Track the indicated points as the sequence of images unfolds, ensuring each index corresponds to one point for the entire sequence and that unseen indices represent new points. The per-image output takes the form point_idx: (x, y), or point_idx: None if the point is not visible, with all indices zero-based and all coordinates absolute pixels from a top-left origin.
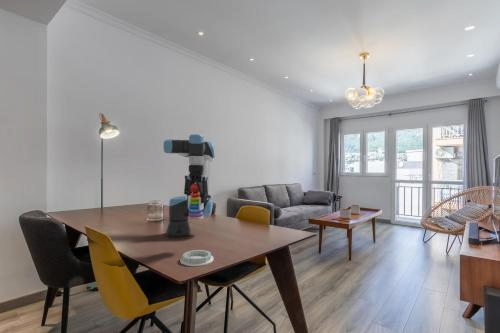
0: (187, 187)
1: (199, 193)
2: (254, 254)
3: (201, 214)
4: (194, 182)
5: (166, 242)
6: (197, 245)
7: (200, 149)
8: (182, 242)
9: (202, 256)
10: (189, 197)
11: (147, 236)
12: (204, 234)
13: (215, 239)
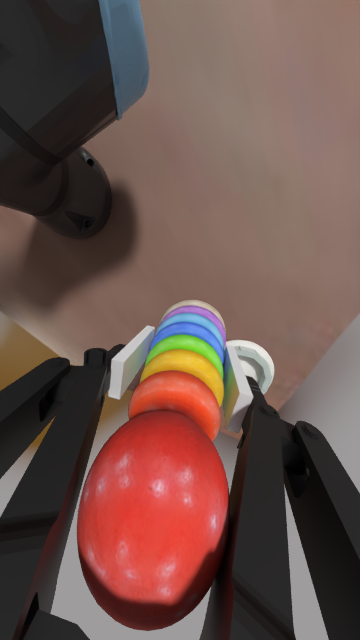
0: (14, 442)
1: (216, 426)
2: None
3: (224, 346)
4: (37, 594)
5: (104, 287)
6: (190, 282)
7: None
8: (139, 272)
9: (243, 358)
10: (125, 387)
11: (26, 258)
12: (150, 156)
13: (213, 202)
